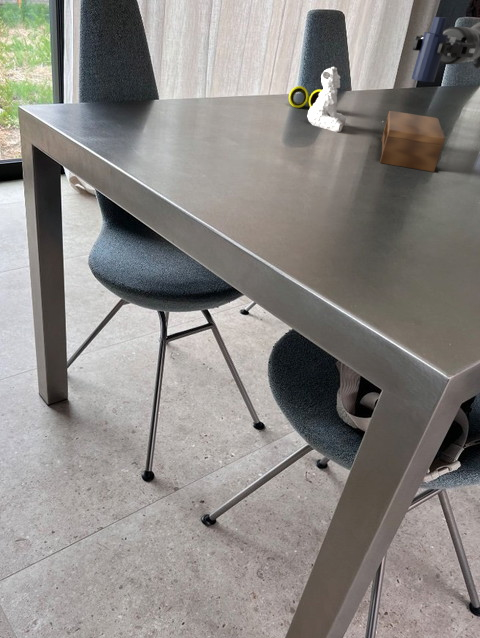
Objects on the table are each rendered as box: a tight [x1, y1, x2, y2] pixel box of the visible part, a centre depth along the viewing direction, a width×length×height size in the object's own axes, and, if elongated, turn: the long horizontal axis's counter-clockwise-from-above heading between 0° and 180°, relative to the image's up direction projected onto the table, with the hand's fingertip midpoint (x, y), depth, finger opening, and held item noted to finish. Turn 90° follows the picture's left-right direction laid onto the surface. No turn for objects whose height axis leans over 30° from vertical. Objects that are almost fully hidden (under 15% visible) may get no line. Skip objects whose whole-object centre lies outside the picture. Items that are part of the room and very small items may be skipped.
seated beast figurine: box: [306, 66, 347, 133], centre depth 126 cm, size 10×9×12 cm
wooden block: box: [379, 110, 446, 173], centre depth 113 cm, size 10×20×6 cm, turn 164°
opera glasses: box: [288, 85, 323, 109], centre depth 143 cm, size 10×5×5 cm, turn 69°
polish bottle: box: [411, 16, 448, 83], centre depth 123 cm, size 5×5×12 cm
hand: (427, 46), depth 121 cm, fingers closed on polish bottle, 5 cm apart
